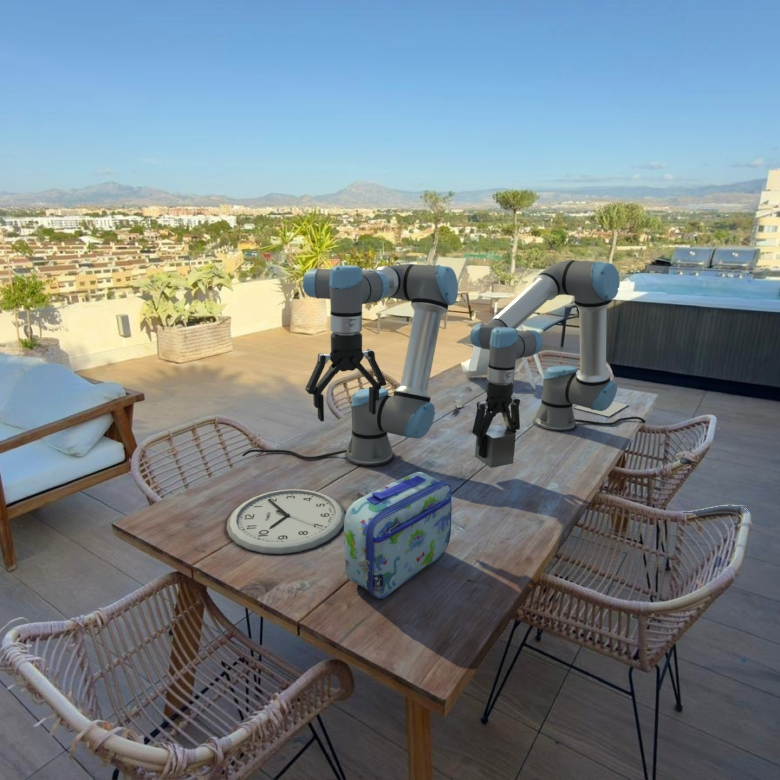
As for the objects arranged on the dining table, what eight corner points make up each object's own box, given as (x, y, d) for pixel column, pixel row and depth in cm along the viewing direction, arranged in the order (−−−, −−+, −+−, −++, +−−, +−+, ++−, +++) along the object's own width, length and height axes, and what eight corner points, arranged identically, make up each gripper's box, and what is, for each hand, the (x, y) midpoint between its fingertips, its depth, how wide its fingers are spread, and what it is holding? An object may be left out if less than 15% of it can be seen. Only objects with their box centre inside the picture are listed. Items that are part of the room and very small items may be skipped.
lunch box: (372, 611, 103) (373, 518, 97) (338, 585, 111) (336, 497, 104) (455, 557, 121) (460, 475, 115) (420, 537, 128) (424, 459, 122)
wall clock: (345, 545, 122) (213, 550, 119) (345, 551, 122) (214, 556, 120) (344, 484, 150) (238, 487, 148) (345, 490, 151) (239, 492, 148)
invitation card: (608, 416, 214) (573, 407, 224) (608, 416, 214) (573, 408, 224) (628, 404, 229) (594, 396, 238) (628, 405, 229) (594, 397, 238)
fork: (449, 415, 212) (449, 411, 211) (458, 403, 226) (458, 399, 226) (455, 416, 211) (455, 411, 211) (464, 404, 225) (464, 400, 225)
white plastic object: (482, 418, 266) (461, 395, 241) (463, 346, 288) (443, 318, 264) (553, 394, 254) (538, 368, 229) (528, 321, 276) (512, 289, 251)
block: (474, 456, 160) (476, 428, 157) (496, 452, 163) (499, 424, 161) (490, 468, 153) (493, 438, 150) (513, 463, 156) (515, 434, 153)
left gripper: (299, 339, 116) (302, 427, 123) (400, 331, 126) (398, 414, 132) (290, 332, 123) (294, 417, 129) (387, 326, 133) (386, 405, 139)
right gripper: (476, 389, 143) (471, 464, 150) (537, 381, 151) (530, 453, 158) (462, 381, 150) (458, 454, 157) (521, 375, 158) (515, 444, 165)
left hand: (347, 416), depth 131 cm, fingers open, 13 cm apart
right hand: (494, 454), depth 157 cm, fingers closed on block, 8 cm apart
